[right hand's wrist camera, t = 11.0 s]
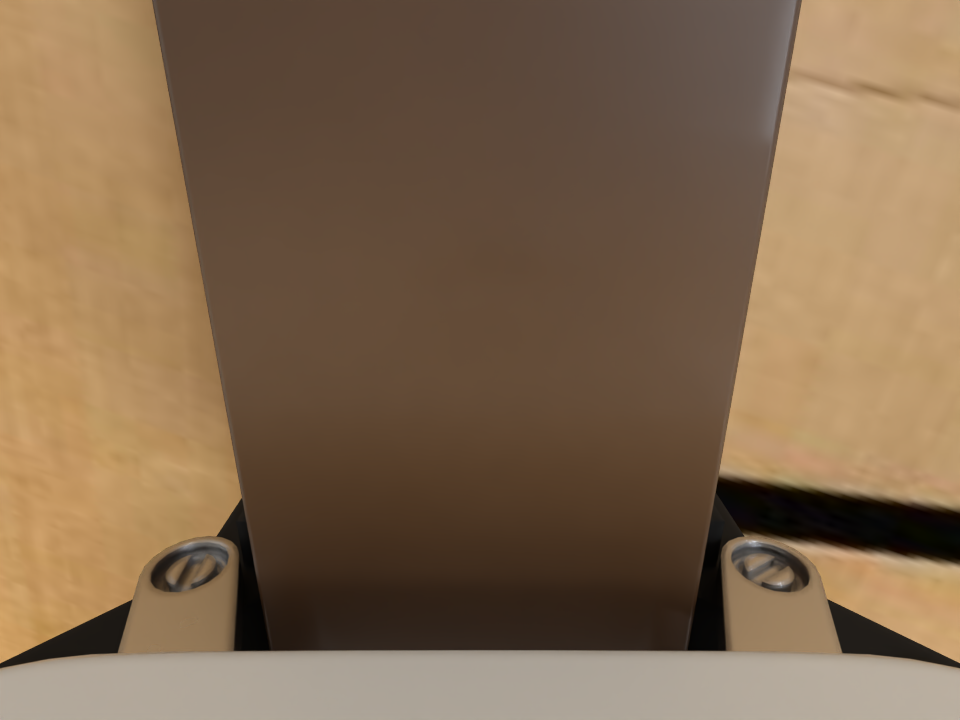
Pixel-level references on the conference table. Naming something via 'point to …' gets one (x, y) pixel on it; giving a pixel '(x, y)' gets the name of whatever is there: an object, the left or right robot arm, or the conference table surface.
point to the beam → (477, 301)
